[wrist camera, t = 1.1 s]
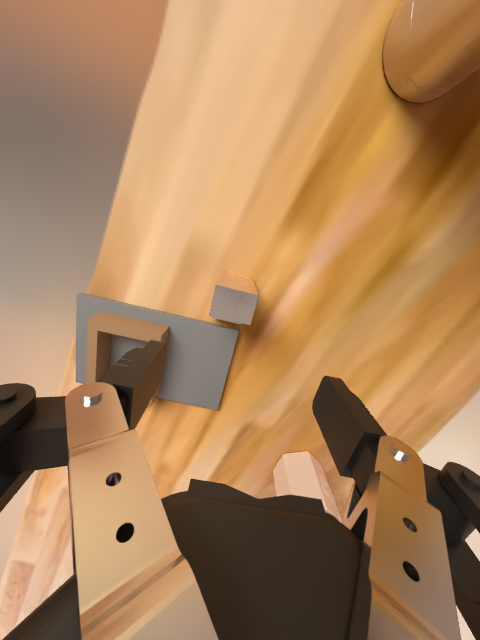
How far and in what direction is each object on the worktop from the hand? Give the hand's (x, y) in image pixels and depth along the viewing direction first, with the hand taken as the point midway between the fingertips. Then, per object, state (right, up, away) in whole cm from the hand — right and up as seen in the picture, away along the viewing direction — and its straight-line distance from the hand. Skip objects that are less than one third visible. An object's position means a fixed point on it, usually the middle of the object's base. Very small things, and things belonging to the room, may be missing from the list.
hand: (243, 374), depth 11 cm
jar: (+10, -24, +30) cm, 40 cm away
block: (-1, +6, +19) cm, 20 cm away
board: (-13, -3, +22) cm, 26 cm away
